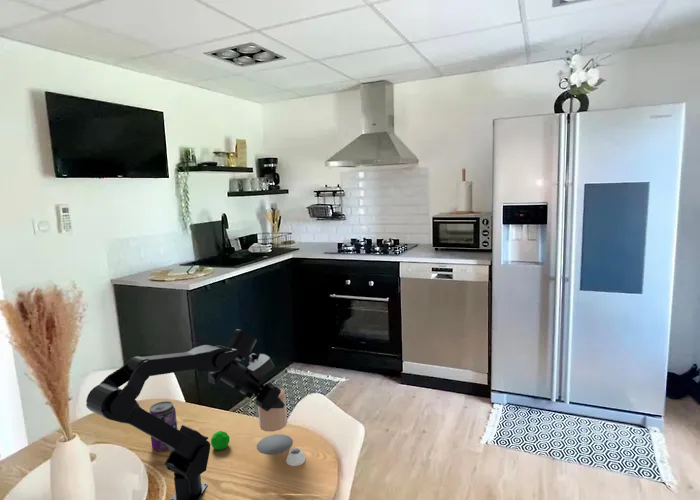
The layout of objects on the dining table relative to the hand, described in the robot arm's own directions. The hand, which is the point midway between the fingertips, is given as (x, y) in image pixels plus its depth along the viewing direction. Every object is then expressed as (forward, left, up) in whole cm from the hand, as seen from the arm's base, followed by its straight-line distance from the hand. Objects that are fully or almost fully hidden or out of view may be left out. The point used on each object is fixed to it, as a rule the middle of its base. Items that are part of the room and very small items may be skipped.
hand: (276, 401), depth 123 cm
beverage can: (-2, +33, -13) cm, 35 cm away
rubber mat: (-1, +1, -12) cm, 13 cm away
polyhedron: (-3, +16, -13) cm, 21 cm away
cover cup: (-1, +1, -6) cm, 6 cm away
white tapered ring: (-8, -7, -13) cm, 17 cm away
